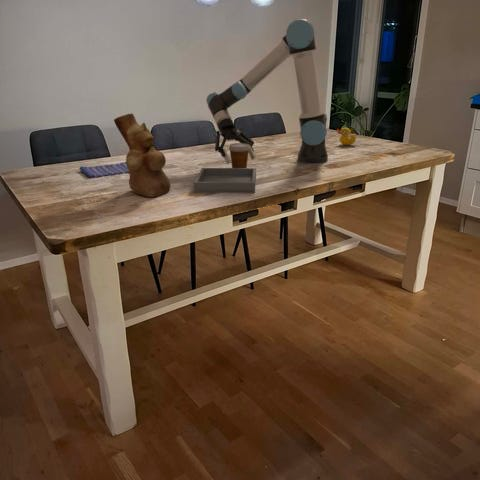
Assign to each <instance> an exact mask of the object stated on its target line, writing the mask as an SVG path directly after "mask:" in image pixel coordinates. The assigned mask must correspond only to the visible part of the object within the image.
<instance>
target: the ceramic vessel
mask: <svg viewBox="0 0 480 480" xmlns="http://www.w3.org/2000/svg"><path fill="white" fill-rule="evenodd" d="M136 119H137V118H135V116H134V113H132V112H131V113H126V114H123V115H121V116H117V117H116V118H114V119H113V122H114V125H115V126H116V129H118V131H119V133H120V135H121V137H123V139H124V141H125V143H126V145H127V146H128V149H129V151H128V153H127V154H126V158H125V162H126V165H127V168H128V170H129V173H128V174H129V180H128V185H129V188H130V189H131V190H132V191H133V192H134V194H136V195H138V196H143V197H149V198H156V197H159V196H162V195H165V194H167V193H169V192H170V191H171V190H170V189H171V187H172V186H171V181H170V179H169V177H168V176H167V174H166V173H165V171H164V170H163V168H164V167H165V166H166V157H165V154H164V153H163V152H162V151H159V150H156V148H155V147H154V139H155V138H154V136H153V135H152V133H151V131H150V129H149V128H148V127H147V125H146V123H145V122H142V123H141V124H139V123H138V122H137V120H136Z"/></svg>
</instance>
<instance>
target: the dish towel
mask: <svg viewBox="0 0 480 480" xmlns="http://www.w3.org/2000/svg"><path fill="white" fill-rule="evenodd" d="M78 168H79V170H80V171H82V172H81V173H82V174H83V175H85V177H87V178H88V179H94V177H96V178H102V176H104V177H109V175H111V176H117V175H116V174H118V175H124V174H123V173H125V174H129V170H128V168H127V165H126V161H125V162H124V161H122V162H119V163H112V164H111V163H110V164H103V165H102V164H101V165H94V166H82V165H81V166H80V167H78Z"/></svg>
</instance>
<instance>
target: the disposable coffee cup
mask: <svg viewBox="0 0 480 480" xmlns="http://www.w3.org/2000/svg"><path fill="white" fill-rule="evenodd" d="M249 148H250V147H249V145H248V144H244V143H240V142H238V143H237V142H235V143H231V144H229V147H228V149H229V154H230V162H231V168H248V167H247V166H248V159H249V153H248V151H249Z"/></svg>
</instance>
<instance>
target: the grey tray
mask: <svg viewBox="0 0 480 480" xmlns="http://www.w3.org/2000/svg"><path fill="white" fill-rule="evenodd" d="M256 183H257V168H255V167H247V168H232V167H201V168H200V170H199V173H198V174H197V176H196V178H195V179H194V181H193V189H194V190H193V191H194V193H210V194H211V193H212V194H213V193H215V194H216V193H217V194H218V193H220V194H221V193H225V194H226V193H227V194H231V193H233V194H234V193H235V194H240V193H241V194H246V193H247V194H255V193H256Z"/></svg>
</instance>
